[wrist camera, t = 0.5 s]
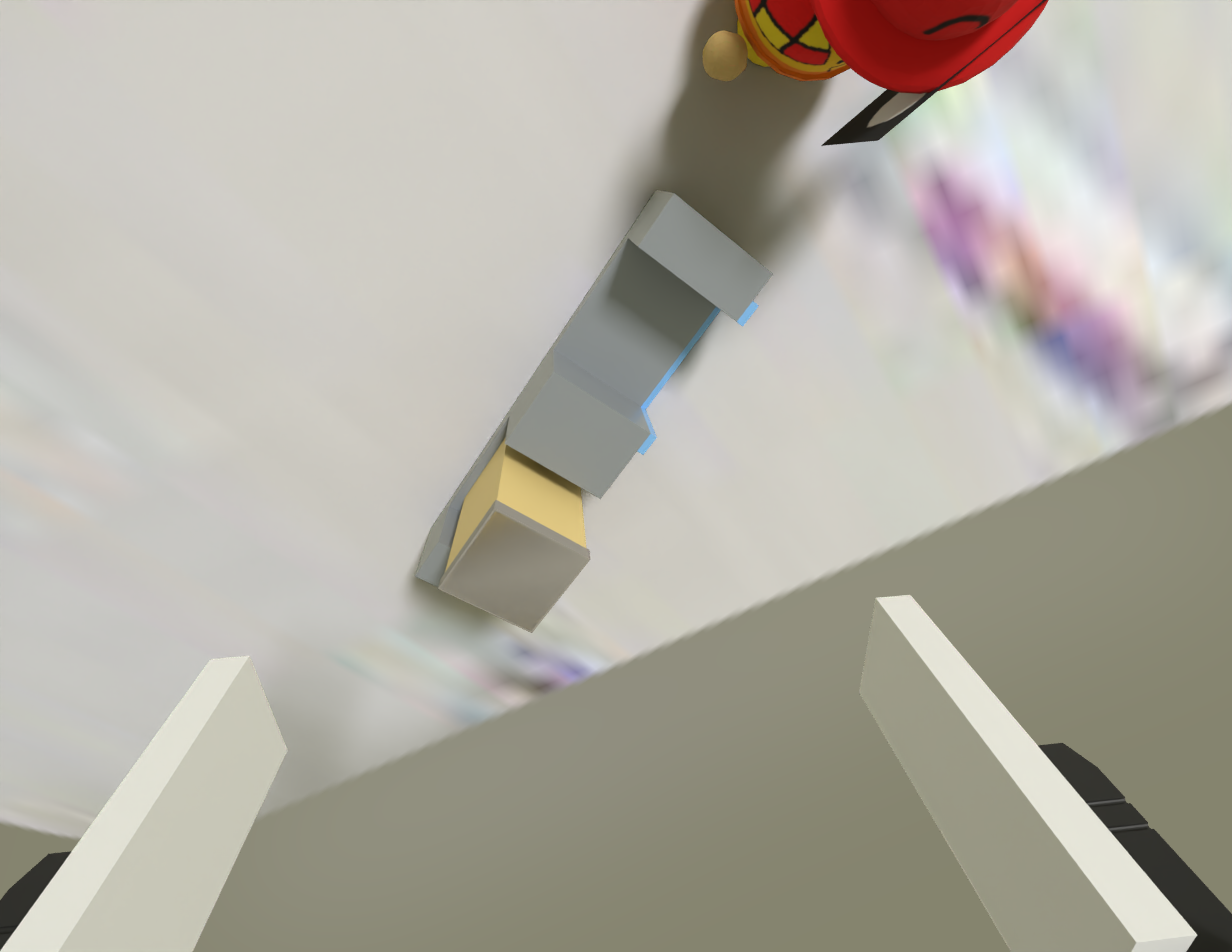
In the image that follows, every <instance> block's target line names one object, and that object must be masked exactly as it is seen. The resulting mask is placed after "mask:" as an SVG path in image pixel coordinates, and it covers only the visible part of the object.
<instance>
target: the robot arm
mask: <svg viewBox="0 0 1232 952" xmlns="http://www.w3.org/2000/svg"><path fill="white" fill-rule="evenodd" d="M859 693H860V695H861V697H862V698H863V700H864V702H865V704H866V705H867V707H868V709H869V710H870V712H871V714H872V716H873V717H874V719H875V721H876V722H877V724H878V726H879V727H880V729H881V731H882V732H883V734H884V736H885V738H886V739H887V741H888V743H889V745H890V746H891V748H892V750H893V751H894V753H895V755H896V756H897V758H898V760H899V761H900V763H901V765H902V767H903V768H904V770H905V771H906V774H907V775H908V777H909V779H910V780H911V782H912V784H913V785H914V787H915V789H916V791H917V792H918V794H919V796H920V798H921V799H922V801H923V803H924V804H925V806H926V808H927V809H928V811H929V813H930V814H931V816H932V818H933V819H934V821H935V823H936V825H937V827H938V828H939V830H940V832H941V833H942V835H943V837H944V839H945V840H946V842H947V843H948V845H949V847H950V849H951V850H952V852H953V854H954V855H955V857H956V859H957V861H958V862H959V864H960V866H961V867H962V869H963V871H964V872H965V874H966V876H967V878H968V879H969V881H970V883H971V885H972V886H973V888H974V890H975V891H976V893H977V895H978V897H979V898H980V900H981V902H982V903H983V905H984V907H985V909H986V910H987V912H988V914H989V915H990V917H991V919H992V920H993V922H994V924H995V925H996V927H997V929H998V931H999V932H1000V934H1001V936H1002V938H1003V939H1004V941H1005V943H1006V944H1007V946H1008V948H1009V949H1010V951H1011V952H1232V914H1231V913H1230V912H1229V910H1228V909H1227V908H1226V907H1225V906H1224V905H1223V904H1222V903H1221V902H1220V901H1219V900H1218V898H1217V897H1216V896H1215V895H1214V894H1213V893H1212V892H1211V891H1210V890H1209V889H1208V887H1207V886H1206V885H1205V884H1204V883H1203V882H1202V881H1201V880H1200V879H1199V878H1198V877H1197V876H1196V874H1195V873H1194V872H1193V871H1192V870H1191V869H1190V868H1189V867H1188V866H1187V865H1186V863H1185V862H1184V861H1183V860H1182V859H1181V858H1180V857H1179V856H1178V855H1177V854H1176V853H1175V851H1174V850H1173V849H1172V848H1171V847H1170V846H1169V845H1168V844H1167V843H1166V842H1165V841H1164V839H1163V838H1162V837H1161V836H1160V835H1159V834H1158V833H1157V832H1156V831H1155V830H1154V829H1151V828H1149V826H1148V822H1147V821H1146V820H1145V819H1144V818H1143V816H1142V815H1141V814H1140V813H1139V812H1138V811H1137V810H1136V809H1135V808H1134V807H1133V806H1132V804H1130V803H1129V804H1128V803H1126V801H1125V797H1124V796H1123V795H1122V794H1121V792H1120V791H1119V790H1118V789H1117V788H1116V787H1115V786H1114V785H1113V784H1112V783H1111V782H1110V781H1109V779H1108V778H1107V777H1106V776H1105V775H1104V774H1103V773H1102V772H1101V771H1100V770H1099V768H1098V767H1096V766H1095V765H1093V764H1092V763H1091V762H1089V761H1088V760H1086V759H1085V758H1083V757H1082V756H1081V755H1079V754H1078V753H1076V752H1075V751H1073V750H1072V749H1071V748H1069V747H1068V746H1066V745H1065V744H1063V743H1058V744H1048V745H1040V746H1037V744H1035V742H1034V741H1033V740H1032V739H1031V737H1030V736H1029V735H1028V734H1027V733H1026V731H1025V730H1024V729H1023V728H1022V727H1021V726H1020V724H1019V723H1018V722H1017V721H1016V720H1015V718H1014V717H1013V716H1012V715H1011V714H1010V712H1009V711H1008V710H1007V709H1006V708H1005V707H1004V705H1003V704H1002V703H1001V702H1000V701H999V699H998V698H997V697H996V696H995V695H994V694H993V692H992V691H991V690H990V689H989V688H988V686H987V685H986V684H985V683H984V682H983V681H982V679H981V678H980V677H979V676H978V675H977V673H976V672H975V671H974V670H973V669H972V668H971V667H970V665H969V664H968V663H967V662H966V661H965V659H964V658H963V657H962V656H961V655H960V653H959V652H958V651H957V650H956V649H955V647H954V646H953V645H952V644H951V643H950V641H949V640H948V639H947V638H946V637H945V636H944V634H943V633H942V632H941V631H940V630H939V629H938V627H937V626H936V625H935V624H934V623H933V621H932V620H931V619H930V618H929V617H928V616H927V614H926V613H925V612H924V611H923V610H922V608H921V607H920V606H919V605H918V604H917V602H916V601H915V600H914V599H913V598H912V597H911V595H905V596H893V597H883V598H876V600H875V605H874V611H873V617H872V623H871V628H870V634H869V640H868V646H867V651H866V656H865V662H864V668H863V674H862V679H861V685H860V691H859ZM286 753H287V748H286V745H285V743H284V740H283V738H282V735H281V733H280V730H279V728H278V725H277V723H276V720H275V718H274V715H273V713H272V710H271V708H270V705H269V703H268V701H267V698H266V696H265V693H264V691H263V688H262V686H261V683H260V681H259V678H258V676H257V673H256V671H255V668H254V666H253V663H252V661H251V658H250V656H240V657H229V658H219V659H210V661H209V662H208V663H207V665H206V666H205V668H204V669H203V670H202V672H201V673H200V675H199V676H198V677H197V679H196V680H195V681H194V683H193V684H192V686H191V687H190V688H189V690H188V691H187V693H186V694H185V695H184V697H183V698H182V699H181V701H180V702H179V704H178V705H177V706H176V708H175V709H174V711H173V712H172V713H171V715H170V716H169V718H168V719H167V720H166V722H165V723H164V724H163V726H162V727H161V729H160V730H159V731H158V733H157V734H156V736H155V737H154V738H153V740H152V741H151V742H150V744H149V745H148V747H147V748H146V749H145V751H144V752H143V754H142V755H141V756H140V758H139V759H138V761H137V762H136V763H135V765H134V766H133V767H132V769H131V770H130V772H129V773H128V774H127V776H126V777H125V779H124V780H123V781H122V783H121V784H120V785H119V787H118V788H117V790H116V791H115V792H114V794H113V795H112V797H111V798H110V799H109V801H108V802H107V804H106V805H105V806H104V808H103V809H102V810H101V812H100V813H99V815H98V816H97V817H96V819H95V820H94V822H93V823H92V824H91V826H90V827H89V828H88V830H87V831H86V833H85V834H84V835H83V837H82V838H81V840H80V841H79V842H78V844H77V845H76V847H75V848H74V849H73V851H72V852H62V853H53V854H48V855H47V856H46V857H45V858H44V859H42V860H41V861H40V862H39V863H38V864H37V865H36V866H35V867H34V868H32V869H31V870H30V871H29V872H28V873H27V874H26V875H24V877H22V878H21V879H20V880H19V881H18V882H17V883H16V884H14V885H13V886H12V887H11V888H10V889H9V890H8V891H7V893H6V894H5V895H4V896H3V898H2V899H1V900H0V952H193V950H194V948H195V945H196V943H197V941H198V939H199V937H200V935H201V933H202V931H203V928H204V926H205V924H206V922H207V920H208V918H209V916H210V914H211V911H212V909H213V907H214V905H215V903H216V901H217V899H218V897H219V895H220V892H221V890H222V888H223V886H224V884H225V882H226V880H227V878H228V876H229V873H230V871H231V869H232V867H233V865H234V863H235V861H236V858H237V856H238V854H239V852H240V850H241V848H242V846H243V844H244V842H245V839H246V837H247V835H248V833H249V831H250V828H251V827H252V825H253V823H254V820H255V818H256V816H257V814H258V812H259V810H260V808H261V806H262V803H263V801H264V799H265V797H266V795H267V793H268V791H269V789H270V786H271V784H272V782H273V780H274V778H275V776H276V774H277V772H278V770H279V767H280V765H281V763H282V761H283V759H284V757H285V755H286Z"/></svg>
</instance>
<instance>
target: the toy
mask: <svg viewBox="0 0 1232 952" xmlns="http://www.w3.org/2000/svg"><path fill="white" fill-rule="evenodd" d="M734 1H735V8H736V13H737V16H738V21H737V32H738V34H736V33H732V32H729V31H725V30H723V31H718V32H716V33H715V34H713V35H712V36H711V37H710V38H709V39H708V41H707V43H706V45H705V47H704V49H703V53H702V55H703V58H702V60H703V66H704V69H705V71H706V73H707V74H708V75H709V76H710V77H712V78H714V79H718V80H722V81H731V80H733V79H735V78H736V77H738V76H739V75H740V74H741V72H743V71H744V70H745V69H746V67H747V57H748V58H749V59H750V60H751V61H752V62H753V63H755V64H758V65H760V66H763V67H768V66H770V67H771V68H772V69H773V70H775V71H776V72H777V73H779V74H782V75H784V76H787V77H790V78H793V79H796V80H799V81H813V80H826V79H829V78H832V77H834V76H836V75H838V74H840V73H842V72H844V71H846V70H848V69H850V68H851V69H852V70H854V71H855V72H856V73H857V74H858V75H860V76H861V77H863V78H865V79H866V80H868V81H869V82H871V83H873V84H876V85H878V86H880V87H883V88H886V89H887V90H886V91H885V92H884V93H882V94H881V95H880V96H879V97H878V98H877V99H875V100H874V101H873V102H872V103H871V104H869V105H868V106H867V107H866V108H865V109H864V110H862V111H861V112H860V113H859V114H858V115H857V116H855V117H854V118H853V119H852V120H851V121H850V122H848V123H847V124H846V125H845V126H844V127H843V128H841V129H840V130H839V131H838V132H837V133H835V134H834V135H833V136H832V137H831V138H830V139H828V140H827V141H826V142H825V143H824V144H823V145H821V146H824V145H834V144H845V143H856V142H867V141H877V140H879V139H881V138H882V137H883V136H884V135H885V134H887V133H888V132H889V131H890V130H891V129H893V128H894V127H895V126H896V125H897V124H899V123H900V122H901V121H902V120H903V119H905V118H906V117H907V116H908V115H909V114H910V113H912V112H913V111H914V110H915V109H916V108H918V107H919V106H920V105H921V104H922V103H924V102H925V101H926V100H927V99H928V98H930V97H931V96H932V95H933V94H934V93H936V92H937V91H940V90H943V89H946V88H949V87H952V86H956V85H959V84H962V83H964V82H966V81H967V80H969V79H971V78H972V77H974V76H976V75H977V74H979V73H981V72H982V71H984V70H986V69H987V68H989V67H991V66H992V65H994V64H995V63H996V62H997V61H998V60H999V59H1000V58H1002V57H1003V56H1004V55H1005V54H1006V53H1007V52H1008V51H1009V50H1011V49H1012V48H1013V47H1014V46H1015V45H1016V44H1017V42H1018V41H1019V40H1020V39H1021V38H1022V37H1023V36H1024V35H1025V34H1026V32H1027V31H1028V30H1029V29H1030V28H1031V27H1032V25H1033V24H1034V23H1035V21H1036V20H1037V18H1038V17H1039V15H1040V14H1041V12H1042V11H1043V10H1044V8H1045V6H1046V4H1047V2H1048V0H734Z"/></svg>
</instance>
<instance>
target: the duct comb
mask: <svg viewBox="0 0 1232 952" xmlns="http://www.w3.org/2000/svg"><path fill="white" fill-rule="evenodd" d="M772 275H773V274H772V273H771V272H770V271H769V270H768V269H766V268H765V267H764V266H763V265H761V264H760V263H759V262H758V261H757V260H755V259H754V258H753V257H752V256H750V255H749V254H748V253H747V252H746V251H744V250H743V249H742V248H741V247H739V246H738V245H737V244H736V243H735V242H733V241H732V240H731V239H730V238H728V237H727V236H726V235H725V234H724V233H722V232H721V231H720V230H719V229H717V228H716V227H715V226H714V225H713V224H711V223H710V222H709V221H708V220H706V219H705V218H704V217H703V216H702V215H700V214H699V213H698V212H697V211H695V210H694V209H693V208H692V207H691V206H689V205H688V204H687V203H686V202H684V201H683V200H682V199H681V198H679V197H678V196H677V195H676V194H675V193H671V192H665V191H659V190H656V191H655V192H654V194H653V195H652V197H651V198H650V200H649V201H648V203H647V204H646V206H645V207H644V209H643V210H642V212H641V213H640V215H639V216H638V218H637V219H636V221H635V222H634V224H633V225H632V227H631V228H630V230H629V231H628V233H627V234H626V236H625V237H624V239H623V240H622V242H621V243H620V245H619V246H618V248H617V249H616V251H615V252H614V254H613V255H612V257H611V258H610V260H609V261H608V263H607V264H606V266H605V267H604V269H603V270H602V272H601V273H600V275H599V276H598V278H597V279H596V281H595V282H594V284H593V285H592V287H591V288H590V290H589V291H588V293H587V294H586V296H585V297H584V299H583V300H582V302H581V303H580V305H579V306H578V308H577V309H576V311H575V312H574V314H573V315H572V317H571V318H570V320H569V321H568V323H567V325H566V326H565V328H564V329H563V331H562V332H561V334H560V335H559V337H558V338H557V340H556V341H555V343H554V344H553V346H552V347H551V349H550V350H549V352H548V353H547V355H546V356H545V358H544V359H543V361H542V362H541V364H540V365H539V367H538V368H537V370H536V371H535V373H534V374H533V376H532V377H531V379H530V380H529V382H528V383H527V385H526V386H525V388H524V389H523V391H522V392H521V394H520V395H519V397H518V398H517V400H516V401H515V403H514V404H513V406H512V407H511V409H510V410H509V412H508V413H507V415H506V416H505V418H504V419H503V421H502V422H501V424H500V425H499V427H498V428H497V430H496V431H495V433H494V434H493V436H492V437H491V439H490V440H489V442H488V443H487V445H486V446H485V448H484V449H483V451H482V452H481V454H480V455H479V457H478V458H477V460H476V461H475V463H474V464H473V466H472V467H471V469H470V470H469V472H468V473H467V475H466V476H465V478H464V479H463V481H462V482H461V484H460V485H459V487H458V488H457V490H456V491H455V493H454V494H453V496H452V497H451V499H450V500H449V502H448V503H447V505H446V506H445V508H444V509H443V511H442V512H441V514H440V515H439V517H438V518H437V520H436V521H435V523H434V525H433V526H432V528H431V530H430V533H429V536H428V539H427V542H426V545H425V548H424V551H423V554H422V557H421V559H420V562H419V565H418V568H417V571H416V574H415V577H417V578H419V579H421V580H424V581H426V582H428V583H430V584H432V585H434V586H436V587H438V586H439V583H440V579H441V578H442V576H443V575H444V573H445V570H446V566H447V563H448V559H449V555H450V551H451V548H452V544H453V540H454V536H455V532H456V529H457V525H458V521H459V517H460V513H461V510H462V506H463V502H464V498H465V497H466V495H467V494H468V492H469V491H470V489H471V488H472V486H473V485H474V483H475V482H476V480H477V479H478V477H479V476H480V474H481V473H482V471H483V470H484V468H485V467H486V465H487V464H488V462H489V461H490V460H491V458H492V457H493V455H494V454H495V452H496V451H497V449H498V448H499V446H500V445H501V443H502V442H503V440H504V439H505V437H506V439H505V444H506V445H508V446H510V447H511V448H513V449H515V450H516V451H518V452H520V453H522V454H523V455H525V456H527V457H529V458H530V459H532V460H534V461H536V462H537V463H539V464H541V465H542V466H544V467H546V468H548V469H549V470H551V471H553V472H555V473H556V474H558V475H560V476H561V477H563V478H565V479H567V480H568V481H570V482H572V483H574V484H575V485H577V486H579V487H581V488H582V489H584V490H586V491H587V492H589V493H591V494H593V495H594V496H596V497H598V498H600V499H601V498H602V496H603V495H604V494H605V492H606V491H607V490H608V489H609V487H610V486H611V485H612V483H613V482H614V481H615V479H616V478H617V477H618V475H619V474H620V473H621V472H622V470H623V469H624V468H625V466H626V465H627V464H628V462H629V461H630V460H631V459H632V457H633V456H634V455H635V453H636V452H637V451H638V452H639V453H641V454H642V455H644V453H645V452H646V451H647V449H648V448H649V447H650V446H651V444H652V443H653V442H654V440H655V439H656V438H657V437H656V434H655V432H654V429H653V427H652V424H651V422H650V419H649V417H648V414H647V412H646V409H647V407H648V406H649V405H650V403H651V402H652V401H653V399H654V398H655V397H656V395H657V394H658V393H659V391H660V390H661V389H662V387H663V386H664V385H665V383H666V382H667V381H668V379H669V378H670V377H671V375H672V374H673V373H674V371H675V370H676V369H677V367H678V366H679V365H680V363H681V362H682V361H683V359H684V358H685V357H686V355H687V354H688V353H689V351H690V350H691V349H692V347H693V346H694V345H695V344H696V342H697V341H698V340H699V338H700V337H701V336H702V334H703V333H704V332H705V330H706V329H707V328H708V326H709V325H710V324H711V322H712V321H713V320H714V318H715V317H716V316H717V314H718V313H719V312H720V310H722V311H723V312H724V313H726V314H727V315H728V316H730V317H731V318H732V319H734V320H735V321H736V322H738V323H739V324H740V325H741V326H744V324H745V323H746V322H747V320H748V319H749V318H750V317H751V315H752V314H753V313H754V311H755V310H756V309H757V307H758V305H757V304H756V303H755V302H753V300H754V299H755V297H756V296H757V295H758V293H759V292H760V291H761V289H762V288H763V287H764V286H765V284H766V283H767V282H768V280H769V279H770V278H771V276H772Z"/></svg>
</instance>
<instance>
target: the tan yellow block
mask: <svg viewBox="0 0 1232 952" xmlns="http://www.w3.org/2000/svg"><path fill="white" fill-rule="evenodd" d="M505 439H506V437H505ZM505 439H504V440H503V442H502V443H501V445H500V446H499V448H498V449H497V451H496V452H495V454H494V455H493V457H492V458H491V460H490V461H489V462H488V464H487V465H486V467H485V468H484V470H483V471H482V473H481V474H480V476H479V477H478V479H477V480H476V482H475V483H474V485H473V486H472V488H471V489H470V491H469V492H468V494H467V495H466V497H465V498H464V502H463V506H462V510H461V513H460V517H459V521H458V525H457V529H456V532H455V536H454V540H453V544H452V548H451V551H450V555H449V559H448V563H447V566H446V570H445V573H444V575H443V576H442V578H441V579H440V583H439V586H438V589H439V590H441V591H443V592H445V593H447V594H449V595H452V596H454V597H456V598H458V599H460V600H462V601H464V602H467V603H469V604H471V605H473V606H475V607H477V608H479V609H481V610H484V611H486V612H488V613H490V614H492V615H494V616H496V617H499V618H501V619H503V620H505V621H507V622H509V623H511V624H513V625H516V626H518V627H520V628H522V629H524V630H526V631H528V632H531V633H532V632H533V631H534V630H535V628H536V627H537V626H538V625H539V623H540V622H541V621H542V620H543V618H544V617H545V616H546V614H547V613H548V612H549V611H550V609H551V608H552V607H553V606H554V604H555V603H556V602H557V601H558V599H559V598H560V597H561V596H562V594H563V593H564V592H565V591H566V589H567V588H568V587H569V586H570V584H571V583H572V582H573V581H574V579H575V578H576V577H577V576H578V574H579V573H580V572H581V570H582V569H583V568H584V567H585V565H586V564H587V563H588V562H589V560H590V551H589V550H588V549H586V540H585V529H584V518H583V508H582V497H581V487H579V486H577V485H575V484H574V483H572V482H570V481H568V480H567V479H565V478H563V477H561V476H560V475H558V474H556V473H555V472H553V471H551V470H549V469H548V468H546V467H544V466H542V465H541V464H539V463H537V462H536V461H534V460H532V459H530V458H529V457H527V456H525V455H523V454H522V453H520V452H518V451H516V450H515V449H513V448H511V447H510V446H508V445H506V444H505Z"/></svg>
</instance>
